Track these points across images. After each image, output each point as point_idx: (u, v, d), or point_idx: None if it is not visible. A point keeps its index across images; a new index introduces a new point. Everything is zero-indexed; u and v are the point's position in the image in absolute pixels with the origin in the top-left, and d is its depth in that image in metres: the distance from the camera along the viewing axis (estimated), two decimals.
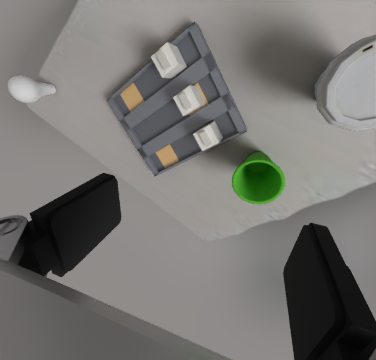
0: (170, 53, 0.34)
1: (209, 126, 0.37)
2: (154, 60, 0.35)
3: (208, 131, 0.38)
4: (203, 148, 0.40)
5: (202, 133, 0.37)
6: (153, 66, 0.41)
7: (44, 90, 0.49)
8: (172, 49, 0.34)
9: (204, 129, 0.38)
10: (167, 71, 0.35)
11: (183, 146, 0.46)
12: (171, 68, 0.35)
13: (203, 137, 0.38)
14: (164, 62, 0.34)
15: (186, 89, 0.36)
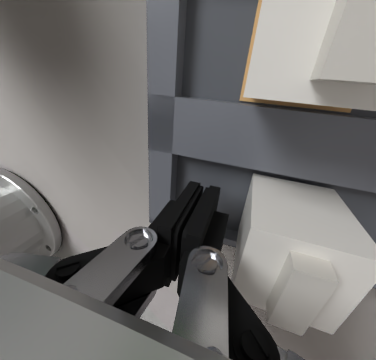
0: (249, 274, 0.07)
1: None
2: (332, 319, 0.07)
3: None
4: None
5: None
6: None
7: None
8: (236, 263, 0.09)
9: None
10: (329, 254, 0.06)
11: None
12: (294, 244, 0.06)
13: None
14: (300, 295, 0.06)
15: (281, 89, 0.05)
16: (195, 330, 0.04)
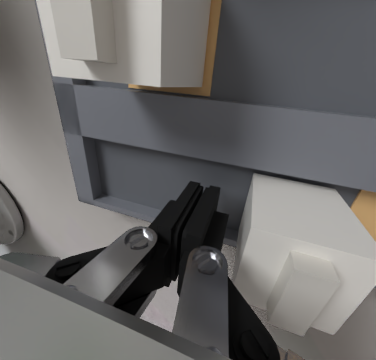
0: (249, 274, 0.07)
1: None
2: (333, 320, 0.07)
3: None
4: None
5: None
6: None
7: None
8: (236, 263, 0.09)
9: None
10: (330, 254, 0.06)
11: None
12: (294, 244, 0.06)
13: None
14: (301, 295, 0.06)
15: (71, 69, 0.06)
16: (195, 330, 0.04)
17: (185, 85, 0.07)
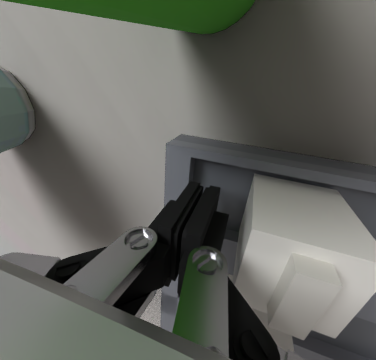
0: None
1: None
2: None
3: (260, 293, 0.07)
4: (367, 271, 0.06)
5: (284, 327, 0.07)
6: None
7: None
8: None
9: (265, 308, 0.08)
10: None
11: None
12: None
13: (298, 318, 0.06)
14: None
15: None
16: (195, 330, 0.04)
17: None
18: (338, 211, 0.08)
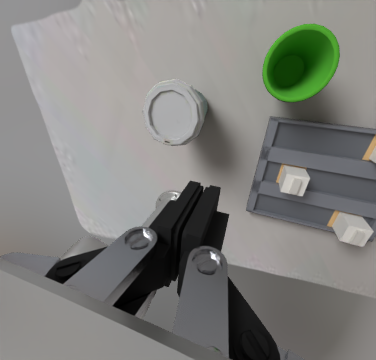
0: (346, 235, 0.37)
1: None
2: (363, 243, 0.37)
3: None
4: None
5: None
6: (297, 218, 0.44)
7: None
8: (340, 233, 0.38)
9: None
10: (363, 230, 0.36)
11: (348, 145, 0.35)
12: (357, 228, 0.36)
13: None
14: (358, 237, 0.36)
15: (285, 191, 0.38)
16: (195, 330, 0.04)
17: None
18: None
